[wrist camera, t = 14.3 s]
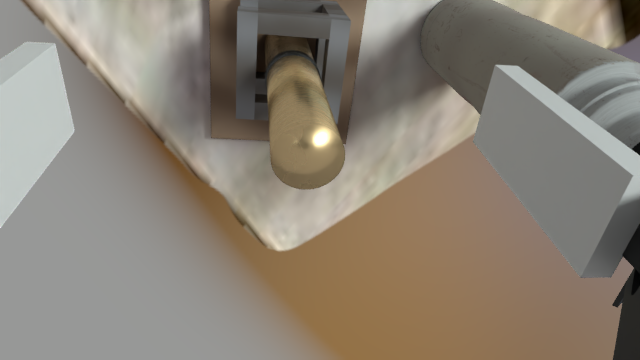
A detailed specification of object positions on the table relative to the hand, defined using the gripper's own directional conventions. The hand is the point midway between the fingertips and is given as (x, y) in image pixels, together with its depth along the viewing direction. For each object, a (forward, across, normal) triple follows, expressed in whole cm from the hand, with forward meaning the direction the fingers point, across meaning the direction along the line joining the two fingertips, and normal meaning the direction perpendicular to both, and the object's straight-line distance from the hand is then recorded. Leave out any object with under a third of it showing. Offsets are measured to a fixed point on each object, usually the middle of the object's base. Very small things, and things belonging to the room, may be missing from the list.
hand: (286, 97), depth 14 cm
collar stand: (+31, +1, -7) cm, 32 cm away
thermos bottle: (+31, +18, -6) cm, 37 cm away
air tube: (+30, +1, -7) cm, 31 cm away
